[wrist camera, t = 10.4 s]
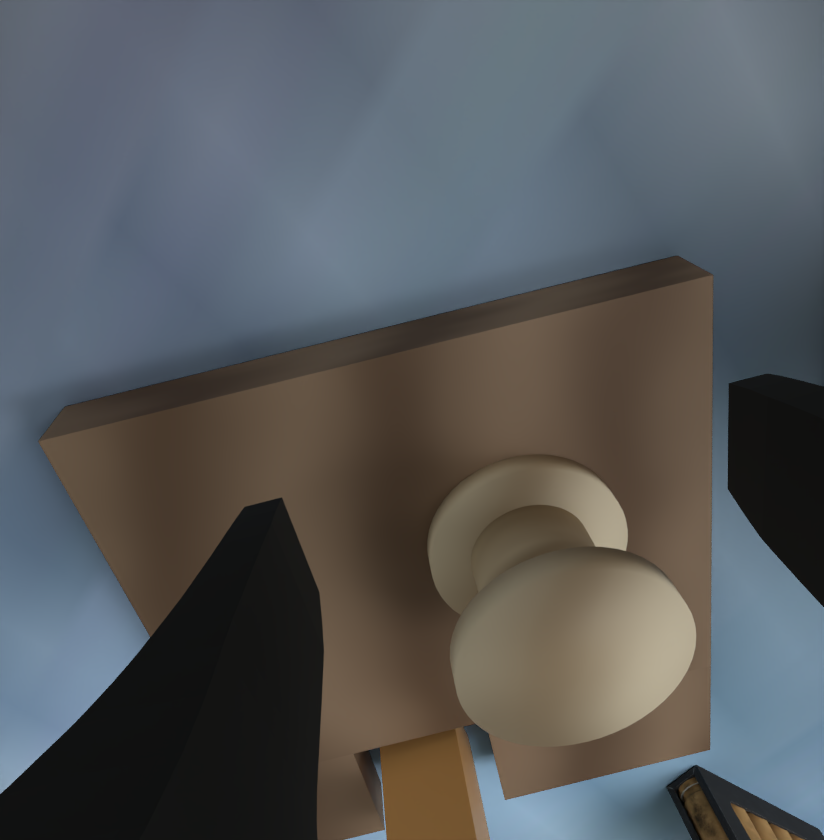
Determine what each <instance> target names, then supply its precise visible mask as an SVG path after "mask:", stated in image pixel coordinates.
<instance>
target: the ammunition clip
mask: <svg viewBox="0 0 824 840" xmlns="http://www.w3.org/2000/svg"><path fill="white" fill-rule="evenodd" d="M667 789H668V791H669V793H670V795H671V797H672V799H673V801H674V803H675V805H676V807H677V809H678V811H679V813H680V815H681V817H682V819H683V821H684V823H685V825H686V827H687V830H688V832H689V834H690V836H691V838H692V840H824V836H823V835H822V833H821V831H820V830H819V829H818V828H816V827H814V826H812V825H810V824H808V823H806V822H804V821H802V820H800V819H799V818H797V817H795V816H793V815H791V814H789V813H787V812H785V811H783V810H781V809H779V808H778V807H776V806H774V805H772V804H770V803H768V802H766V801H764V800H762V799H760V798H759V797H757V796H755V795H753V794H751V793H749V792H747V791H745V790H743V789H741V788H739V787H738V786H736V785H734V784H732V783H730V782H728V781H726V780H724V779H722V778H720V777H718V776H717V775H715V774H713V773H711V772H709V771H707V770H705V769H703V768H701V767H699V766H698V765H696V766H694V767H693V768H692V769H690V770H689V771H688V772H686V773H685V774H684V775H682V776H681V777H680V778H678V779H677V780H675V781H674V782H673V783H671V784H670V785H669V786H667Z"/></svg>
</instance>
